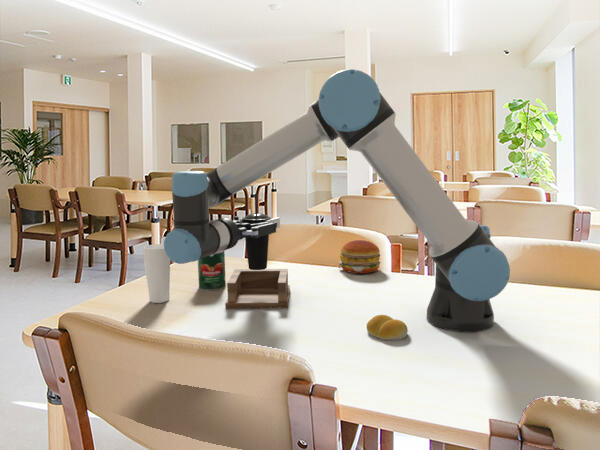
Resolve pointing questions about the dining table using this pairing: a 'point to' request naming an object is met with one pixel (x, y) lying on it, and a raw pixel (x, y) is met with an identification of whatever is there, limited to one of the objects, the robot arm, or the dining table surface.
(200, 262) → the canned tomato
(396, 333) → the bread roll
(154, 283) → the drinking glass
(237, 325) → the dining table surface
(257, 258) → the drinking cup
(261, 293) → the walnut rest
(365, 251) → the burger
